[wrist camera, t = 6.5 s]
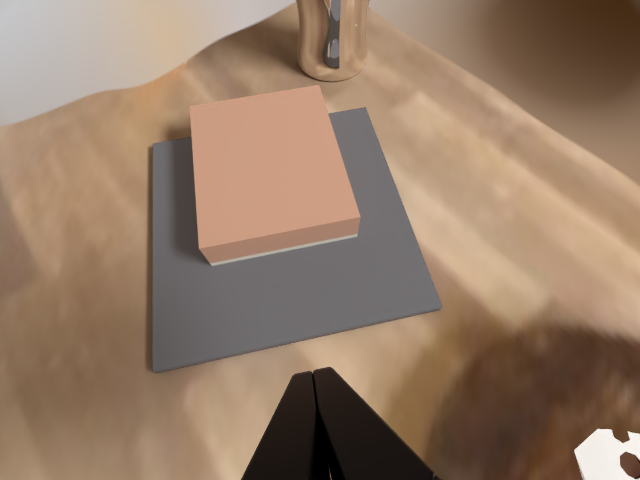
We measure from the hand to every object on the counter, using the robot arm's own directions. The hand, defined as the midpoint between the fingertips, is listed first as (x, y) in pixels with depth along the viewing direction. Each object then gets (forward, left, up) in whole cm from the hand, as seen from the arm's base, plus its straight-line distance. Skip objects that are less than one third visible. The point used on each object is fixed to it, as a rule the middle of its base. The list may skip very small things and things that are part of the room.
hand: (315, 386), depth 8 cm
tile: (+9, 0, -10) cm, 13 cm away
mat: (+11, 0, -12) cm, 16 cm away
